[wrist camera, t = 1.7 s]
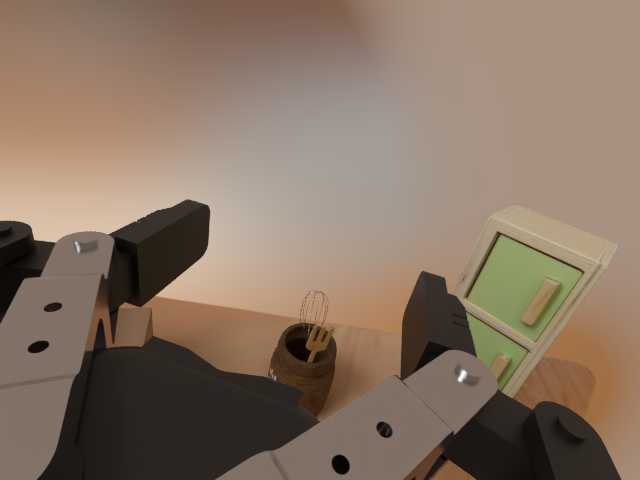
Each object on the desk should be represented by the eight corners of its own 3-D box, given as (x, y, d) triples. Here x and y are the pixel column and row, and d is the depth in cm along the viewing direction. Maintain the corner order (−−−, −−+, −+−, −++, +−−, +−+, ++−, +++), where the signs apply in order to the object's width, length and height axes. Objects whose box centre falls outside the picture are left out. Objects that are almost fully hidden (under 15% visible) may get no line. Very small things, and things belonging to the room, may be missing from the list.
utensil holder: (322, 370, 35) (349, 279, 30) (328, 429, 30) (363, 331, 24) (266, 366, 34) (284, 272, 29) (262, 426, 29) (283, 323, 23)
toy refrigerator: (398, 394, 35) (486, 214, 25) (432, 363, 40) (517, 202, 30) (469, 459, 30) (611, 269, 20) (498, 415, 35) (623, 245, 25)
